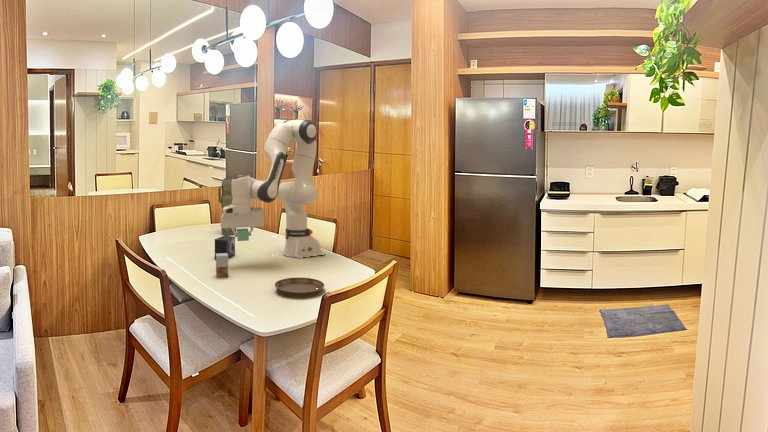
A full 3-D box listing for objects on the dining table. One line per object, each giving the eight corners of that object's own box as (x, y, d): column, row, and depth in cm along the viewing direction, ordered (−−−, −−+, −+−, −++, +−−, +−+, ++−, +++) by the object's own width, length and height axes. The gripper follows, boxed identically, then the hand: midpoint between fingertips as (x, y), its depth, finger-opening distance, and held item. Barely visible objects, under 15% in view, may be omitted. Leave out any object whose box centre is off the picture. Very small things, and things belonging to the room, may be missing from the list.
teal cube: (247, 238, 254) (247, 228, 253) (248, 240, 250) (248, 230, 249) (237, 238, 253) (236, 228, 252) (238, 241, 248) (237, 231, 247)
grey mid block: (227, 263, 237) (227, 253, 236) (228, 266, 232) (227, 255, 231) (216, 264, 235) (215, 253, 234) (216, 267, 231) (216, 256, 230)
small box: (225, 260, 261) (225, 240, 260) (214, 259, 263) (213, 239, 261) (235, 255, 272) (235, 236, 270) (224, 254, 273) (224, 235, 271)
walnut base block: (227, 274, 238) (227, 263, 237) (228, 277, 233) (228, 266, 232) (216, 274, 236) (216, 264, 235) (216, 277, 231) (216, 267, 231)
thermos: (216, 233, 322) (215, 177, 316) (234, 232, 329) (234, 177, 324) (222, 236, 315) (221, 179, 309) (240, 234, 323) (240, 178, 317)
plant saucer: (326, 284, 228) (326, 277, 228) (321, 300, 208) (322, 292, 207) (279, 283, 228) (279, 276, 227) (270, 298, 207) (270, 290, 207)
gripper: (263, 206, 254) (263, 233, 257) (219, 207, 248) (220, 235, 250) (264, 208, 249) (265, 236, 251) (220, 210, 242) (221, 238, 244)
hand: (242, 236), depth 251 cm, fingers closed on teal cube, 5 cm apart
